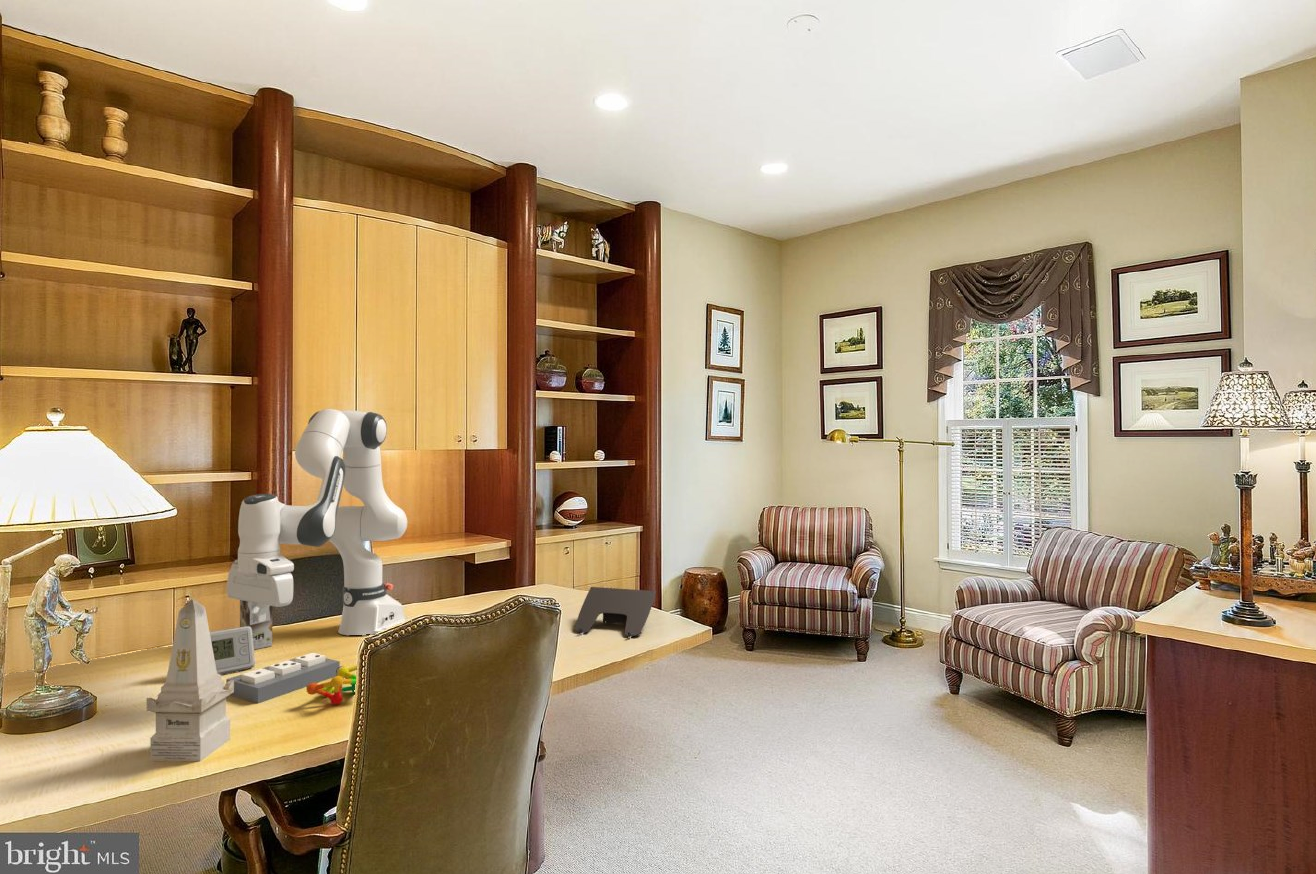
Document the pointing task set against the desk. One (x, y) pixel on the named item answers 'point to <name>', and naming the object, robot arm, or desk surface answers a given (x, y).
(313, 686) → the decorative model
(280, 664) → the button
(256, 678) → the button
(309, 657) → the button
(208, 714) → the miniature monument
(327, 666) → the button panel
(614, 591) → the portable electronic device stand
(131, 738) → the desk surface
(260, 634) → the coffee box
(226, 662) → the digital clock
